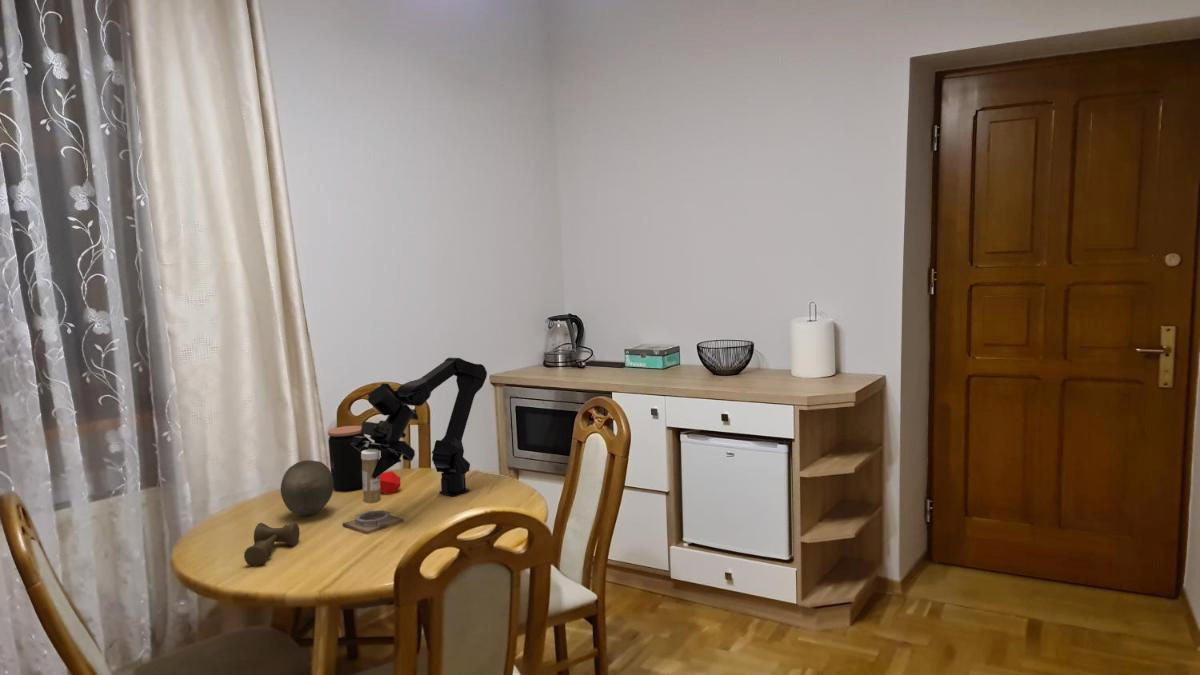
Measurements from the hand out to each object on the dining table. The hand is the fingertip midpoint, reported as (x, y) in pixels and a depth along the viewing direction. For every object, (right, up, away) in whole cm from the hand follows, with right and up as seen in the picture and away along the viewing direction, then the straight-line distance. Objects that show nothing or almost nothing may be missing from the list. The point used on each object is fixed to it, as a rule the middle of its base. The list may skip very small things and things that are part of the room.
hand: (367, 476), depth 204 cm
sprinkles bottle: (+1, -7, +2) cm, 7 cm away
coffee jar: (-16, -10, +39) cm, 43 cm away
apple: (-3, -10, +32) cm, 33 cm away
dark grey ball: (-19, -13, +13) cm, 27 cm away
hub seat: (+1, -13, +3) cm, 13 cm away
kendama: (-19, -16, -13) cm, 28 cm away
